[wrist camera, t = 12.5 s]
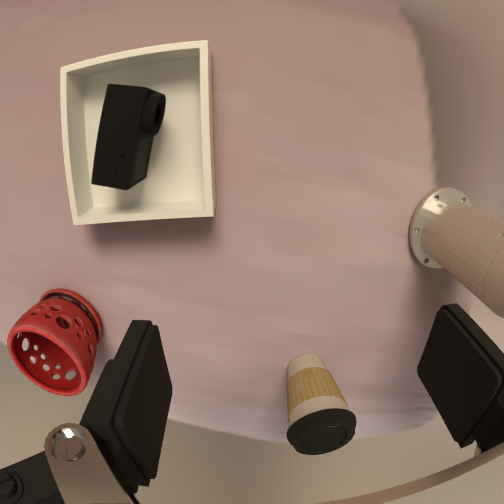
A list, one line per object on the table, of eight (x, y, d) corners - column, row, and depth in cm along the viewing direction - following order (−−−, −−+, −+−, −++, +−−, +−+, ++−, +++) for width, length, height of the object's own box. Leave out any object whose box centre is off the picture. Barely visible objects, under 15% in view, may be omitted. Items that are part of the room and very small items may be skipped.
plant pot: (45, 334, 44) (15, 379, 33) (40, 271, 39) (-2, 312, 28) (109, 357, 46) (88, 410, 35) (112, 295, 42) (82, 346, 31)
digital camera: (155, 181, 35) (138, 194, 28) (114, 174, 34) (90, 185, 28) (173, 95, 31) (159, 88, 25) (129, 89, 30) (107, 83, 24)
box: (211, 52, 30) (207, 40, 25) (216, 203, 37) (213, 216, 32) (81, 72, 29) (60, 67, 24) (92, 211, 37) (73, 225, 32)
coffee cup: (271, 386, 50) (282, 458, 36) (281, 344, 46) (297, 421, 33) (325, 386, 51) (346, 453, 37) (340, 345, 47) (370, 415, 34)
